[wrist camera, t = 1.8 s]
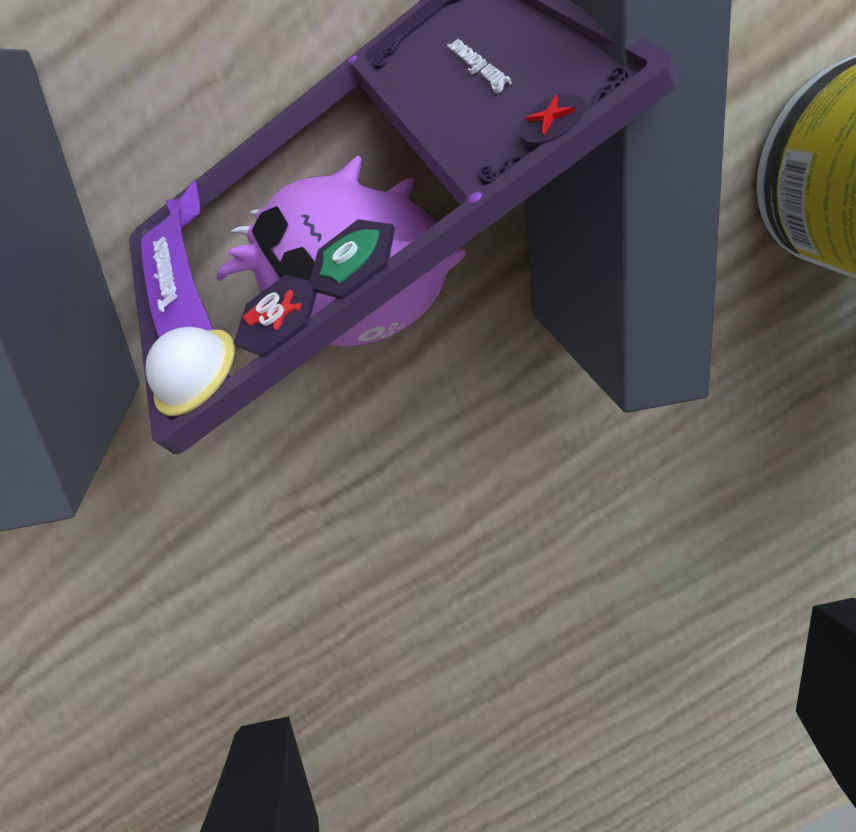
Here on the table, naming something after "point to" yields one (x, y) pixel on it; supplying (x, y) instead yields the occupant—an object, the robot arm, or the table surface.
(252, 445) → the table surface
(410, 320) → the game card
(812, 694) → the robot arm
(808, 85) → the supplement bottle
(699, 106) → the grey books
